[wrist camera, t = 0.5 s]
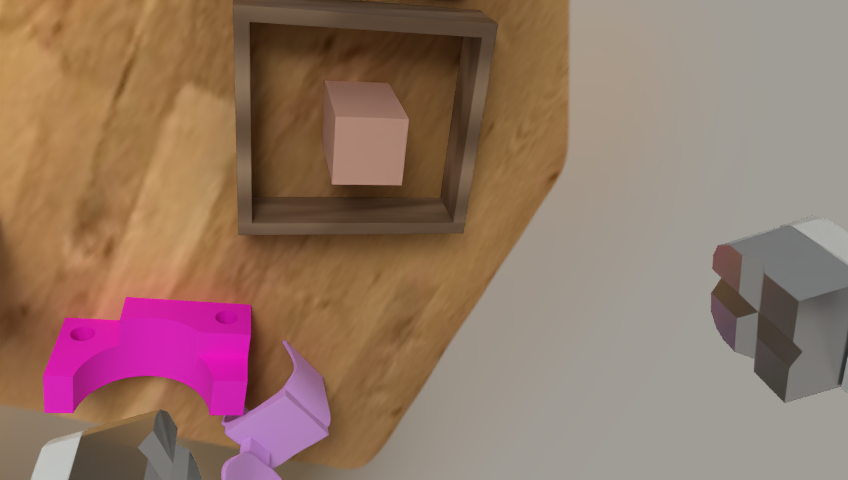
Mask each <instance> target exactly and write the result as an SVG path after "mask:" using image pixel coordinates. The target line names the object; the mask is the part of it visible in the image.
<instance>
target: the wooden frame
mask: <svg viewBox="0 0 848 480" xmlns="http://www.w3.org/2000/svg"><path fill="white" fill-rule="evenodd" d="M250 22H258V23H273V24H288V25H303V26H317V27H332V28H347V29H362V30H377V31H392V32H407V33H421V34H436V35H451V36H463V42H462V49H461V56H460V63H459V70H458V77H457V84H456V91H455V98H454V106H453V113H452V120H451V127H450V134H449V141H448V148H447V155H446V162H445V169H444V176H443V183H442V190H441V197H440V198H344V197H252V175H251V94H250ZM233 24H234V66H235V107H236V149H237V191H238V233H239V235H316V234H437V233H463V232H464V226H465V220H466V214H467V208H468V202H469V196H470V190H471V184H472V178H473V172H474V166H475V160H476V154H477V148H478V142H479V135H480V129H481V123H482V117H483V111H484V105H485V99H486V93H487V87H488V81H489V75H490V69H491V63H492V57H493V51H494V45H495V39H496V33H497V27H498V24H497V23H496V22H494V21H493V20H492V19H490V18H489V17H488V16H486V15H485V14H484V13H483V12H481V11H480V10H469V9H456V8H443V7H430V6H417V5H405V4H392V3H379V2H366V1H353V0H233Z"/></svg>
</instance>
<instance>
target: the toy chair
mask: <svg viewBox="0 0 848 480" xmlns="http://www.w3.org/2000/svg"><path fill="white" fill-rule="evenodd" d="M282 343H283V345H284V346H285V348H286V349H287V351H288V353H289V354H290V356H291V359H292V361H293V364H294V370H293V373H292V375H291V376H290V378H289V379H288V381H287V382H286V384H285V386H284V387H283V388H282V389H281V390H280V391H279V392H278V393H276V394H275V395H273V396H272V397H270V398H269V399H268V400H266V401H265V402H263V403H262V404H261V405H259V406H258V407H256V408H254V409H253V410H251V411H249V410H248V409H247V408H246V407H245V406H244V410H243V415H224V417H223V420H222V425H223V426H224V427H225V434H226V435H227V436H228V437H230V438H231V439H232V440H233V441H235V442H236V443H238V444H239V445H240V446H241V448H240V454H239V455H237V456H235V457H232V458H230V459H229V460H227V461H226V462H225V463H224V465H223V467H222V474H221V475H222V476H221V477H222V480H282V479H281V478H280V477H279V476H278V474H277V473H276V472H274V470H273V469H274V468H275V467H277V466H279V465H280V464H282V463H284V462H285V461H286V460H288V459H289V458H291V457H292V456H294V455H295V454H297V453H299V452H300V451H302V450H303V449H305V448H307V447H309V446H311V445H313V444H314V443H316V442H318V441H320V440H321V439H323V438H325V437H326V436H328V435H329V433H328V426H329V425H330V421H331V417H330V410H329V405H328V401H327V397H326V392H325V387H324V379H323V377H322V376H321V375H320V374H319V373H318V372H317V371H316V370H315V369H314V368H313V367H312V366H311V365H310V364H309V363H308V362H307V361H306V360H305V359H304V358H303V357H302V356H301V355H300V354H299V353H298V352H297V351H296V350H295V349H294V348H293V347H292V346H291V345H290V344H289V343H288V342H287V341H286V340H284V341H282Z"/></svg>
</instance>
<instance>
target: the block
mask: <svg viewBox="0 0 848 480" xmlns="http://www.w3.org/2000/svg"><path fill="white" fill-rule="evenodd" d="M408 124H409V118H408V116H407V115H406V113H405V111H404V109H403V108H402V106H401V104H400V102H399V100H398V99H397V97H396V95H395V93H394V92H393V90H392V88H391V86H390V84H389V83H376V82H355V81H334V80H325V82H324V105H323V128H322V144H323V148H324V152H325V156H326V161H327V165H328V169H329V173H330V178H331V182H332V185H402V179H403V170H404V160H405V151H406V142H407V133H408Z"/></svg>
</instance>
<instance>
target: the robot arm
mask: <svg viewBox="0 0 848 480" xmlns="http://www.w3.org/2000/svg"><path fill="white" fill-rule="evenodd" d="M713 270H714V271H715V272H716V273H717V274H718V275H719V276H720V277H721V280H720V281H719V282H718V284H717V285H716V287H715V288H714V290H713V291H712V293H711V312H712V315H713V319H714V322H715V325H716V328H717V330H718V331H719V333H720V335H721V336H722V338H723V340H724V341H725V342H726V343H727V344H728V345H729V346H730V347H731V348H732V349H733V351H734V352H737V353H740V354H743V355H745V356H749V357H751V358H754V372H755V373H756V374H757V375H758V376H759V377H760V378H761V379H762V380H763V381H764V382H765V383H766V384H767V385H768V386H769V388H770V389H771V390H773V392H774V393H776V394H777V396H778V397H779V398H780V399H781V400H782V401H783V402H784V403H786V402H790V401H793V400H796V399H800V398H803V397H807V396H810V395H814V394H817V393H821V392H824V391H827V390H831V389H834V388H838V387H841V386H842V387H841V390H843V391H845V392H847V393H848V232H846V231H845V230H843V229H841V228H840V227H838V226H837V225H835V224H834V223H832V222H830V221H829V220H827V219H825V218H823V217H819V216H809V217H806V218H803V219H800V220H797V221H794V222H791V223H788V224H785V225H782V226H780V227H778V228H774V229H771V230H768V231H764V232H761V233H758V234H755V235H751V236H748V237H744V238H741V239H738V240H734V241H731V242H728V243H725V244H721V245H718V246H717V248H716V251H715V253H714V255H713ZM176 437H177V427H176V425H175V423H174V422H173V420H172V418H171V417H170V415H169V413H168V412H167V411H164V410H161V409H160V410H156V411H152V412H149V413H145V414H141V415H138V416H134V417H130V418H127V419H123V420H119V421H115V422H112V423H108V424H104V425H101V426H97V427H94V428H90V429H88V430H86V431H81V432H77V433H73V434H70V435H66V436H63V437H59V438H55V439H52V440H50V441H49V442H48V443H47V444H46V445H44V446H43V447H42V449H41V452H40V455H39V458H38V460H37V463H36V466H35V469H34V471H33V474H32V477H31V480H202V479H201V475H200V472H199V469H198V467H197V463H196V461H195V460H194V457H193V456H192V454H191V452H190V450H188V449H186V448H184V447H181V446H179V445H177V444H176Z"/></svg>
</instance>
